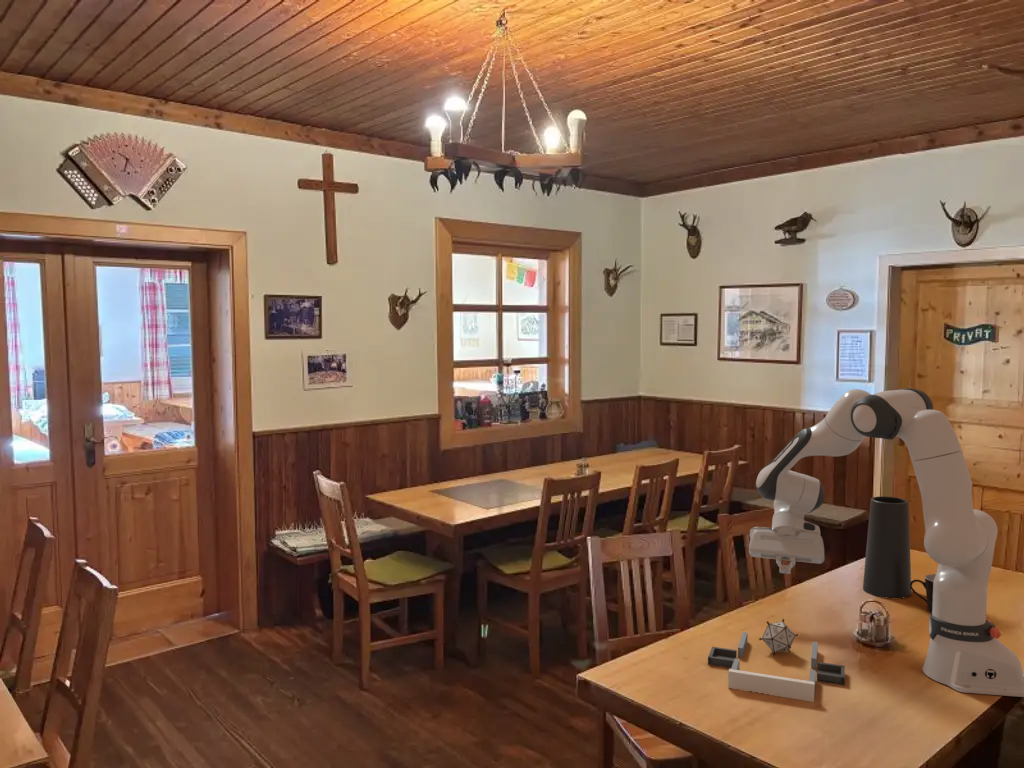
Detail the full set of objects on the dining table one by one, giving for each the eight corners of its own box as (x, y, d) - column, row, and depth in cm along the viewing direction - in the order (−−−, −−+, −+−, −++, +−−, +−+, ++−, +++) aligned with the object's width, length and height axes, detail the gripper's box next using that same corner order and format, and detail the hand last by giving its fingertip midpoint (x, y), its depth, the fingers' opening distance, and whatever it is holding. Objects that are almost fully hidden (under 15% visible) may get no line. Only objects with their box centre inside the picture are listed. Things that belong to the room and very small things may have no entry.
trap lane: (844, 655, 201) (844, 639, 201) (844, 707, 174) (845, 689, 174) (718, 637, 213) (718, 623, 213) (700, 683, 186) (700, 666, 185)
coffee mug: (963, 614, 229) (964, 580, 228) (947, 620, 224) (948, 585, 224) (923, 602, 239) (924, 569, 238) (907, 608, 234) (908, 575, 233)
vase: (859, 593, 247) (861, 501, 245) (867, 581, 258) (869, 493, 256) (907, 601, 240) (911, 506, 237) (914, 589, 251) (917, 498, 249)
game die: (785, 669, 202) (801, 647, 196) (752, 654, 203) (768, 633, 197) (788, 640, 209) (804, 619, 203) (756, 627, 210) (772, 605, 204)
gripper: (749, 520, 232) (745, 562, 224) (825, 526, 224) (823, 571, 216) (750, 531, 236) (746, 573, 228) (825, 538, 229) (823, 582, 220)
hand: (784, 572), depth 222 cm, fingers closed
